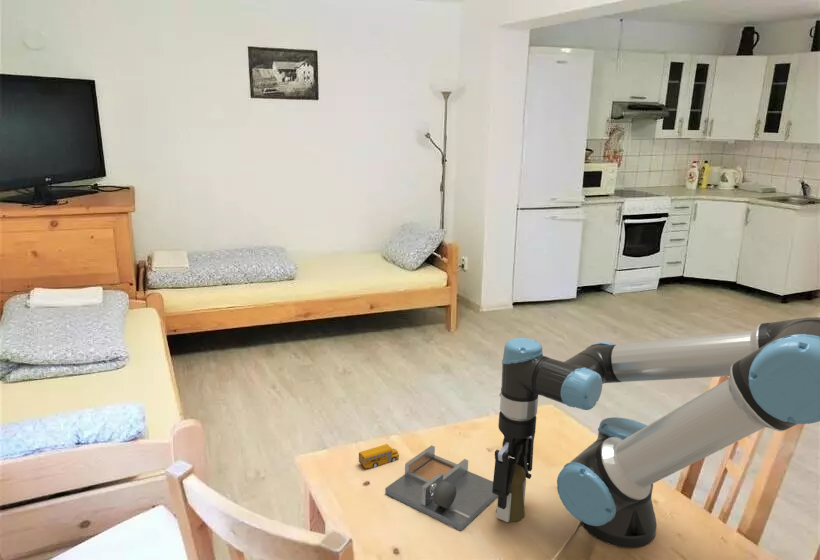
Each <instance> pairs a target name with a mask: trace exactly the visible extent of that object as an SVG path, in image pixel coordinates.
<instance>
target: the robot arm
mask: <svg viewBox="0 0 820 560" xmlns="http://www.w3.org/2000/svg"><path fill="white" fill-rule="evenodd" d="M502 357H503V358H502V360H501V365H502V366H501V367H502V369H501V370H502V371H501V387H500V389H501V390H500V393H499V398H500V399H499V401H500V404H499V410H500V411H499V413H498V429H499V431H500V432H501V434H502V435H503V441H502V448H501V449H500V450H499V449H496V450H495V451H494V460H495V461H494V469H493V480H492V481H493V489H492V493H494V494H496V495H498V497H497V503H496V504H497V505H496V509H497V513H496V518H497V519H499V520H501V521H502V522H506V523H509V521H510V508H511V493H509V492H510V488H511V483H512V478H513V473H514V469H515V464H517V465H520V466H521V467H523V469H524V470H525V473H526V478H525V481H524V483H523V498H524V502H525V500H526V498H525V497H526V488H527V487H526V486H527V479H528V480H530V479H531V478H532V474H531V473H529V472H531V471H532V470H533V457H534V441H535V434H536V426H537V414H538V406H539V404H538V403H539V396H542V397H545V398H547V399H550V400H553V401H554V402H558V403H561V404H563V405H566V406H567V407H569V408H576V409H579V410H585V411H589V410H592V409H593V408H594V407H595V406H596V404H597V402H599V400H600V397H601V394H602V390H603V385H604V384H610V383H611V384H612V383H614V384H615V383H625V382H628V383H629V382H645V381H646V382H647V381H663V380H664V381H665V380H682V379H683V380H686V379H702V378H705V379H706V378H722V377H724V378H725V377H728V378H727V379H726V380H724V381H721V382H720V383H718V384H717V385H715V386H713V387H711V388H710V389H708V390H707V391H705V392H703V393H702V394H700V395H698V396H696V397H694V398H692V399H691V400H689V401H688V402H686V403H683V404H682V405H680V406H679V407H677V408H676V409H674V410H672V411H670V412H668V413H667V414H665V415H663V416H662V417H660V418H659V419H656V420H654V421H653V422H652V423H650V424H648V425H647V424H646V423H642V422H641V421H637V420H634V419H629V418H624V417H617V416H616V417H607V418H604V419H602V420H601V421H600V423H599V426H598V428H597V432H598V434H597V439H596V440H595V441H593V443H591V444H590V445H589V446H587V447H586V448H585V449H584V450H582V451H581V452H580V453H579V454H578V455H577V456H576V457H575V458H573V459H572V460H570V461H569V462H567V463H566V464H565V465H564V466H563V468H562V469H561V470H560V471H559V473H558V475H557V479H556V484H557V486H556V489H557V493H558V497H559V499H560V501H561V503H562V504H563V506H564V508H565V509H566V510H567V511H568V512H569V514H571V516H572V517H574V518H575V519H577V520H578V521H580V522H581V524H582V527H584V529H585V530H586V531H587V532H588V533H589V534H591V535H592V536H593V537H594V538H596V539H598V540H600V541H602V542H603V543H606V544H608V545H612V546H615V547H619V548H627V549H629V548H630V549H631V548H633V549H634V548H635V549H636V548H642V547H645V546H647V545H650V543H652V542H653V541H654V539H655V538H656V535H657V528H658V527H657V525H658V524H657V518H656V514H655V509H654V506H653V500H652V494H653V488H654V483H656V482H659V481H661V480H663V479H665V478H667V477H669V476H671V475H673V474H675V473H676V472H678V471H680V470H683V469H685V468H687V467H688V466H689V467H690V466H691V465H693V464H695V463H697V462H699V461H701V460H703V459H704V458H707V457H710V456H711V455H713V454H715V453H717V452H718V451H721V450H723V449H724V448H726V447H729V446H731V445H733V444H735V443H737V442H739V441H741V440H742V439H745V438H747V437H749V436H751V435H753V434H755V433H756V432H757V433H758V432H759V431H761V430H763V429H765V428H767V429H771V430H773V431H777V432H784V431H787V430H788V429H790V428H792V427H795V426H797V425H810V424H814V423H820V317H818V316H815V317H813V316H812V317H811V316H810V317H809V316H808V317H801V318H793V319H787V320H785V319H784V320H781V321H780V320H779V321H773V322H764V323H759V324H758V325H757V326H756V327H755V329H753V330H746V331H745V330H744V331H733V332H726V333H723V332H722V333H716V334H706V335H704V334H703V335H696V336H695V335H694V336H688V337H687V336H684V337H677V338H676V337H675V338H665V339H656V340H647V341H646V340H645V341H639V342H638V341H637V342H627V343H618V344H614V343H611V342H608V341H601V342H597V343H594V344H591V345H590V346H587V347H586V348H585V349H584V350H582V351H580V352H579V353H577V354H575V355H573V356H572V357H570V358H568V359H566V360H565V361H562V360H558V359H555V358H551V357H548V356H546V355H544V354H543V346H542V344H541V343H540V342H538V341H537V340H535V339H532V338H528V337H515V338H512V339H510V340H508V341H506V343H505V344H504V349H503V355H502Z"/></svg>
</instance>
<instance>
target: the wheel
mask: <svg viewBox="0 0 820 560" xmlns="http://www.w3.org/2000/svg"><path fill="white" fill-rule="evenodd" d="M455 496H456V486H455V485H453V484H450V483H448V482H446V481H442V482H440V483H439V485H438V486H437V488H436V490H435V493H434V502H435V504H437V505H439V506H441V507H444V508H449V507H450V506H451V505H452V503H453V501H454V499H455Z"/></svg>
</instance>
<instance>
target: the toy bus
mask: <svg viewBox="0 0 820 560" xmlns="http://www.w3.org/2000/svg"><path fill="white" fill-rule="evenodd" d="M398 452H399V451H398V450H397V449H396V448H392V447H391V446H390V445H389V444H387V443H386V444H383V445H379V446H376V447H372V448H369V449H365V450H363V451H359V452H358V463H359V464H360V465H361V466H362V467H363V468H365V469H371V468H373V469H374V468H377V467H378V466H382V465H385V464H388V463H391V462H392V463H393V462H397V460H399V458H400V453H398Z"/></svg>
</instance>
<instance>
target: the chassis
mask: <svg viewBox="0 0 820 560" xmlns="http://www.w3.org/2000/svg"><path fill="white" fill-rule="evenodd" d="M435 452H436V446H434V445H430V446H428V447H427V448H426V449H424V450H423V451H421V452H420V453H418V454H417V455H415V456H414V457H413V458H411V459H410V460H408V461H407V462H406V463H405V464H404V474H403V475H402V476H401V477H399V478H398V479H396V480H395V481H393V482H392V483H390V484H389V485H387V487H385V488H384V489H385V492H384V493H385V495H386V496H389V497H390V498H392V499H394V500H396V501H398V502H401V503H403V504H404V505H407V506H409V507H411V508H413V509H415V510H417V511H419V512H421V513H423V514H425V515H427V516H429V517H431V518H433V519H435V520H438V521H439V522H441V523H443V524H445V525H448V526H450V527H452V528H454V529H456V530H458V531H460V532H462V531H463V530H464V529H465V528H466V527H467V526H468V525H470V524H471V522H473V520H474V519H476V518H477V517H478V516H479V515H480V514H481V513H482V512H483V511H484V510H485V509H486V508H487V507H488V506H489V505H491V504H492V502H493V501H494V500H496V499H498V495H496V494H494V493H492V489H493V480H490V479H488V478H486V477H483V476H480V475H478V474H476V473H473V472H471V471H469V460H468V459H466V458H463V459H462V460H461V461H460V462H459V463H456V462H453V461H450V460H448V459H446V458H443V457H441V456H438V455H436V454H435ZM442 481H446V482H448V483H450V484H453V485H455V486H456V496H455V499H454V501H453V503H452V505H451V506H450V507H449V508H444V507H441V506H439V505H437V504H435V502H434V493H435V490H436V488H437V486H438V485H439V483H440V482H442Z"/></svg>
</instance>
